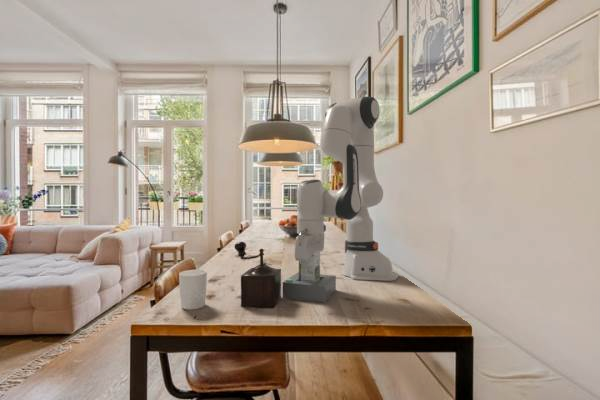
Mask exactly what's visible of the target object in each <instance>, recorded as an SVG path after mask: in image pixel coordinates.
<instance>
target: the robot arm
mask: <svg viewBox="0 0 600 400" xmlns="http://www.w3.org/2000/svg"><path fill="white" fill-rule="evenodd" d="M379 117H380V105H379V103H378V100H377V99H376V98H375V97H373V96H363V97H354V98H349V99H346V100H344V101H340V102H334V103H332V104H330V105H328V107H327V108H326V110H325V113H324V119H323V125H322V129H321V135H320V141H319V142H320V149H321V150H322V152H323V153H324V155H325V156H327V157H329V158H330V159H332V160H335V161H337V162H340V163H341V164H342V169H343V170H342V172H343V173H342V176H343V177H342V178H343V180H342V182H343V183H342V186H341V187H340V188H339V189H328V188H326V187H324V185H323V183H322V182H323V181H322V180H320V179H307V180H303V181H301V182H300V183H299V184H298V187H297V195H296V196H297V197H296V208H297V217H296V234H298V235H297V236H296V238H295V242H294V259H295V261H296V262H297V261H298V262H299V261H300V263H301V266H302V273H308V272H309V267H308V259H310V258H312V256H313V252H315V251H317V250H319V251H320V253H322V252H324V247H325V232H327V231H326V230H327V226H326V225H325V223H324V218H333V219H334V218H335V219H341V220H345V229H346V230H345V240H344V253H345V258H344V264H343V269H342V271H341V272H342V275H343V276H345V277H348V278H351V279H353V280H361V281H362V280H363V281H381V282H383V281H385V282H393V281H396V280H398V278H399V273H398V272H397V271H395V270H393V266H392V261H391V260H390V258H389V257H387V256H386V255H384V254H383V252H381V251H380V250H379V242H377V241H375V240H374V223H373V222H374V221H373V220H372V217H371V216H370V213H369V210H368V209H369V208H372V207H376V206H377V205H379V204H380V203H381V202H382V200H383V197H384V190H383V188H382V185H381V184H380V183H379V182H378V178H377V174H376V171H375V136H374V129H373V127H374V126H375V124H376V123H377V121H378V118H379Z"/></svg>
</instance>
